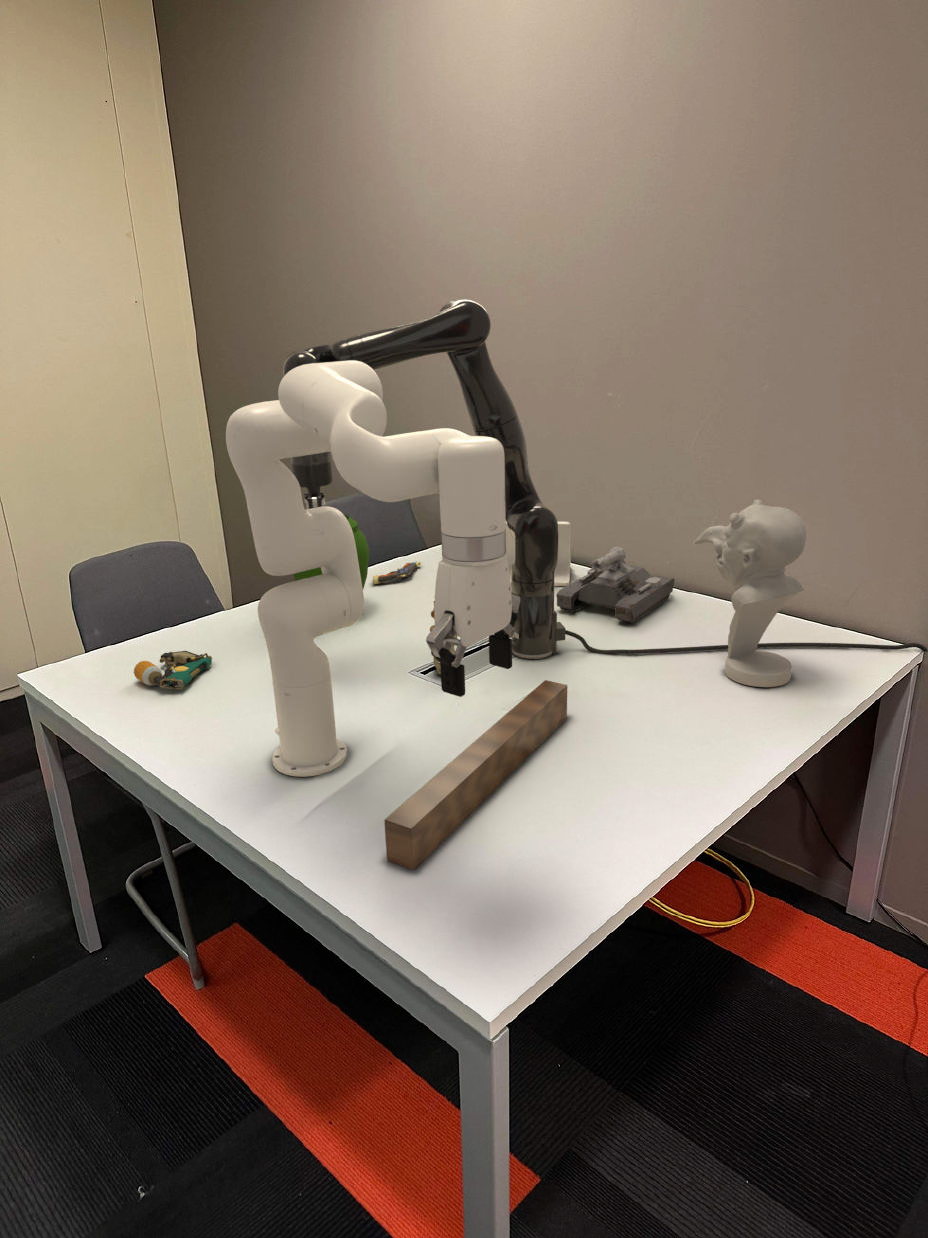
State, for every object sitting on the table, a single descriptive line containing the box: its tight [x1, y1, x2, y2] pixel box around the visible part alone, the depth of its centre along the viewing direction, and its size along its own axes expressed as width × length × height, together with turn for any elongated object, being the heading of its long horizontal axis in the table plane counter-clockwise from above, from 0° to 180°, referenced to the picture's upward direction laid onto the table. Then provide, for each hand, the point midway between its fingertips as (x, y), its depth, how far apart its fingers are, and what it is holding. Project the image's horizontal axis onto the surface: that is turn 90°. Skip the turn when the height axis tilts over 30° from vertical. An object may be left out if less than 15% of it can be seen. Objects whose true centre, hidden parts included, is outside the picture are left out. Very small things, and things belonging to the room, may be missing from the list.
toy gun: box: [372, 561, 422, 585], centre depth 242 cm, size 3×19×10 cm
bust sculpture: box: [693, 499, 807, 688], centre depth 171 cm, size 16×24×35 cm, turn 28°
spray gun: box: [133, 650, 213, 690], centre depth 180 cm, size 4×17×15 cm
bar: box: [383, 679, 568, 871], centre depth 138 cm, size 51×4×7 cm, turn 149°
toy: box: [556, 546, 676, 624], centre depth 212 cm, size 25×20×15 cm
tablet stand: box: [506, 521, 572, 587], centre depth 236 cm, size 18×25×17 cm
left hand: (477, 679), depth 105 cm, fingers open, 9 cm apart
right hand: (318, 541), depth 169 cm, fingers open, 8 cm apart
